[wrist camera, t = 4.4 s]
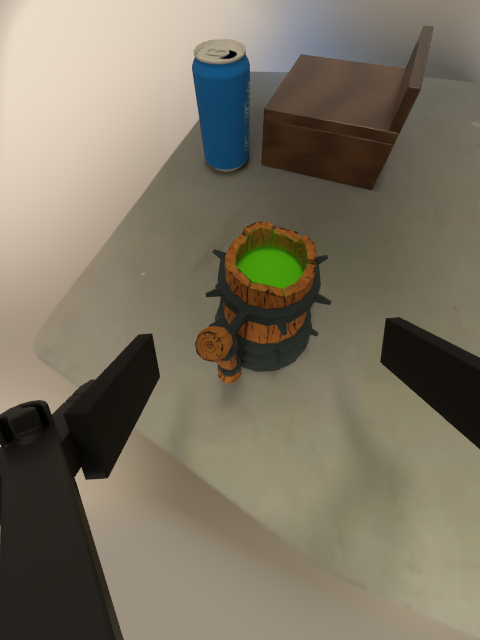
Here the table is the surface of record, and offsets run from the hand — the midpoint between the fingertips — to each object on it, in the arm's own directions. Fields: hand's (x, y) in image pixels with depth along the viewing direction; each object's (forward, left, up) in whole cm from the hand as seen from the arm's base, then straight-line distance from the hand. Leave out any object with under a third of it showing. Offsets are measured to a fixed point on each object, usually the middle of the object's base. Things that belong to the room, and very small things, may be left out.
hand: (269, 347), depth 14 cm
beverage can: (-16, +29, -10) cm, 35 cm away
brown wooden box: (-3, +38, -10) cm, 40 cm away
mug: (-2, +4, -10) cm, 11 cm away
